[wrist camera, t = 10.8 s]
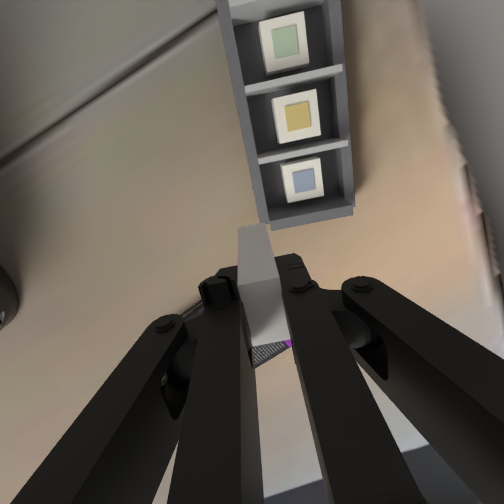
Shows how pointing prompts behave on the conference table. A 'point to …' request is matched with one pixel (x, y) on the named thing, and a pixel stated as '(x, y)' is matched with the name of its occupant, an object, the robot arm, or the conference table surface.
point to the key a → (284, 43)
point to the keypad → (286, 83)
